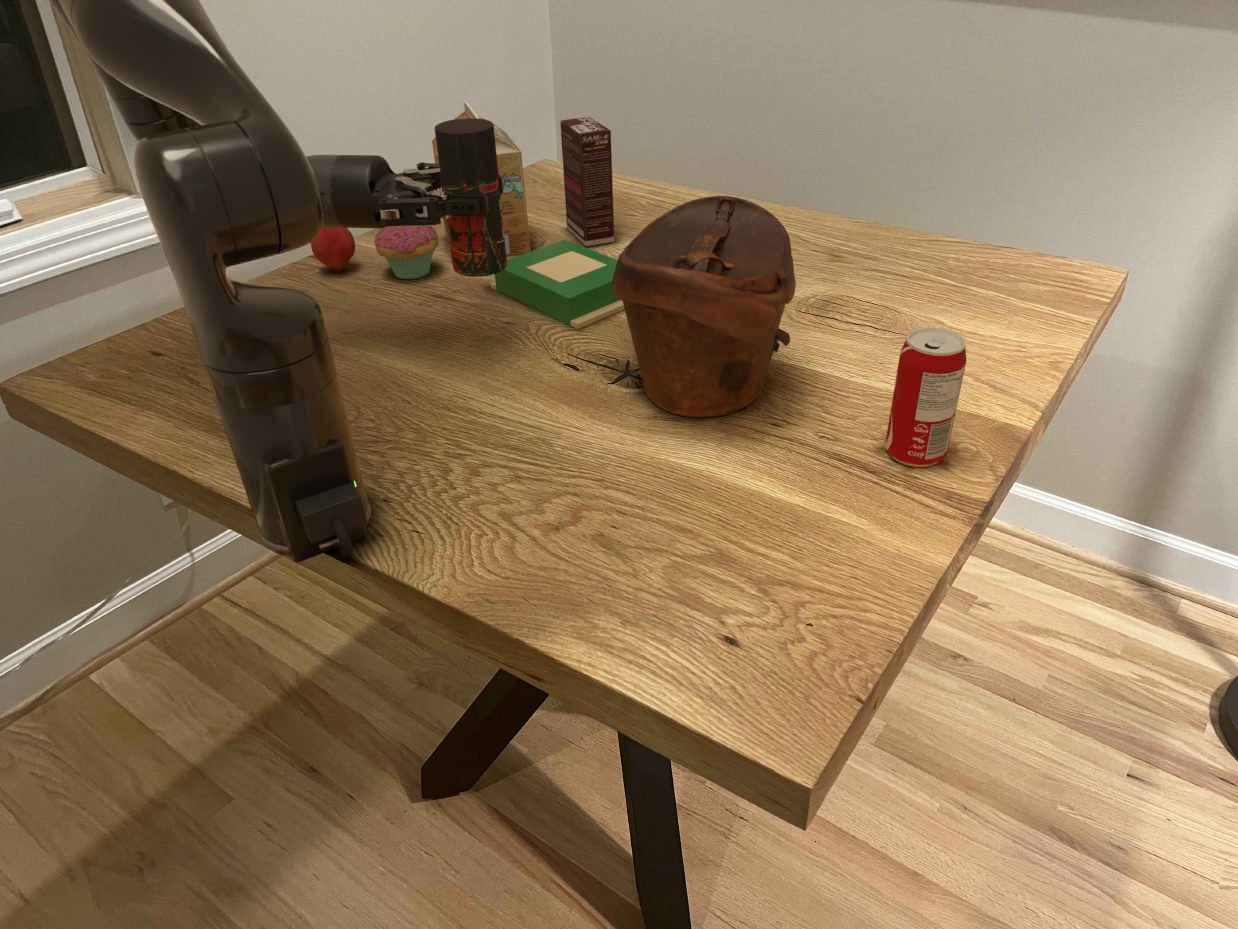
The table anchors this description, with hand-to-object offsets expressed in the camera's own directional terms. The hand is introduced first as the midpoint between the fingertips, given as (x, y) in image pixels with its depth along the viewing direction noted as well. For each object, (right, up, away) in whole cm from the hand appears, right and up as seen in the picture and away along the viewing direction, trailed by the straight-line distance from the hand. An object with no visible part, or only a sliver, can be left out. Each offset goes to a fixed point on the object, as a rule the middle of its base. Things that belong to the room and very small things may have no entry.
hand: (494, 194), depth 95 cm
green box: (+7, -6, +22) cm, 23 cm away
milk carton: (-6, +3, +37) cm, 37 cm away
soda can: (+41, -27, -11) cm, 50 cm away
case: (+22, -21, 0) cm, 30 cm away
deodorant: (-2, -7, +5) cm, 9 cm away
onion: (-26, -2, +31) cm, 40 cm away
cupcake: (-15, -2, +29) cm, 33 cm away
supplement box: (+9, +5, +38) cm, 40 cm away
